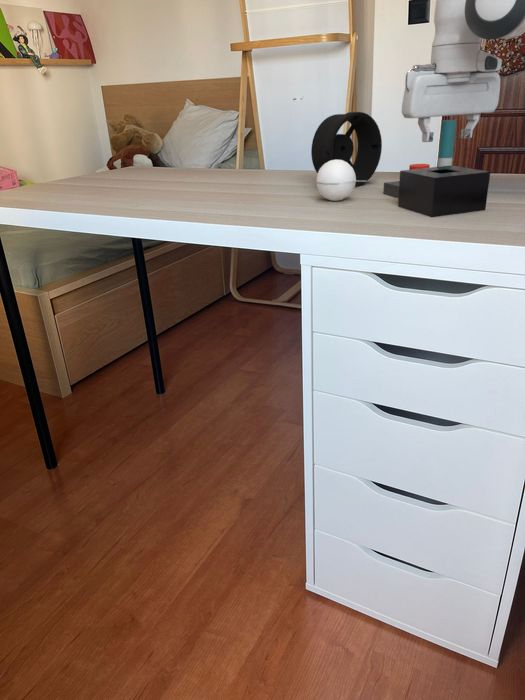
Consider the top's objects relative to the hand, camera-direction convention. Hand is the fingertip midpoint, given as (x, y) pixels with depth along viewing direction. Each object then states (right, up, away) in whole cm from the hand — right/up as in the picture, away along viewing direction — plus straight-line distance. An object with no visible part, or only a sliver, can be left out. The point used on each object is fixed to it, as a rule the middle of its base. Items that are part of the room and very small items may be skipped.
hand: (446, 140), depth 107 cm
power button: (-8, -10, -9) cm, 16 cm away
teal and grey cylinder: (0, -7, +4) cm, 8 cm away
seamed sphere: (-23, -15, -9) cm, 29 cm away
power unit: (-8, -13, -7) cm, 17 cm away
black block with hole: (-8, -19, -19) cm, 28 cm away
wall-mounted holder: (-21, -7, +8) cm, 23 cm away
